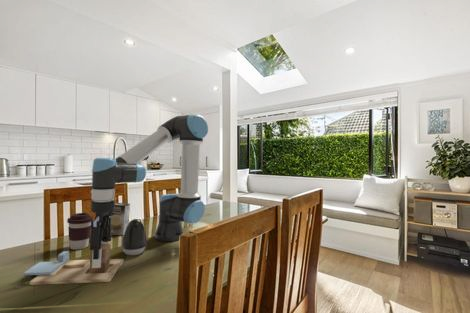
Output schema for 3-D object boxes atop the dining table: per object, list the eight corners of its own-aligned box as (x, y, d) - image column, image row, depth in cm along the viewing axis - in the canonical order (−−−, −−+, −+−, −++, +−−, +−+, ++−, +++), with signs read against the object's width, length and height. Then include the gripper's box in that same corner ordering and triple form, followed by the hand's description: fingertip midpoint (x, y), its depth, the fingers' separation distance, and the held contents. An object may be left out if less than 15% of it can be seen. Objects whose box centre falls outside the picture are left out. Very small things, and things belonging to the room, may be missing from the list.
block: (109, 267, 92) (110, 243, 92) (104, 274, 87) (105, 248, 87) (95, 268, 91) (96, 244, 91) (89, 274, 86) (90, 249, 86)
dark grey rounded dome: (121, 260, 100) (123, 223, 100) (120, 250, 109) (122, 217, 109) (147, 256, 105) (149, 221, 105) (144, 247, 114) (146, 215, 114)
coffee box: (106, 234, 130) (108, 204, 130) (113, 231, 136) (114, 202, 137) (123, 235, 130) (124, 205, 130) (129, 231, 136) (130, 203, 136)
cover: (68, 259, 94) (68, 251, 94) (49, 274, 82) (50, 265, 82) (45, 259, 93) (45, 251, 93) (23, 275, 81) (23, 265, 81)
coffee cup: (79, 252, 106) (81, 217, 106) (60, 249, 108) (62, 215, 108) (96, 244, 115) (98, 213, 115) (78, 242, 117) (80, 211, 117)
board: (123, 262, 98) (123, 258, 98) (109, 283, 82) (109, 278, 82) (57, 264, 94) (57, 260, 94) (29, 286, 78) (29, 281, 78)
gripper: (101, 195, 98) (99, 253, 98) (79, 205, 79) (76, 276, 79) (121, 196, 99) (118, 252, 99) (104, 205, 80) (101, 275, 80)
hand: (100, 263), depth 89 cm, fingers open, 6 cm apart
